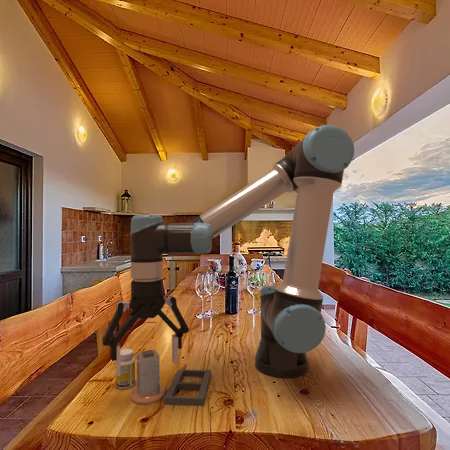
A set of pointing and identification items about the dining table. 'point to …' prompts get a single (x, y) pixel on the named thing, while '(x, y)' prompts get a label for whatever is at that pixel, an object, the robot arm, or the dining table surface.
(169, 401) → the grey double frame
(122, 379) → the supplement bottle
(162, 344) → the dining table surface
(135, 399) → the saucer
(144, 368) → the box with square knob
